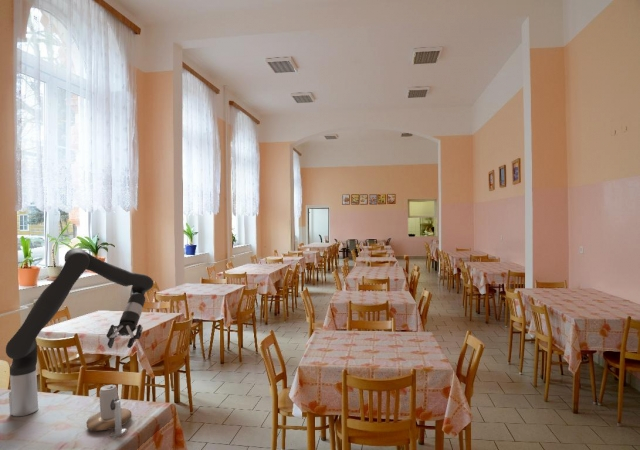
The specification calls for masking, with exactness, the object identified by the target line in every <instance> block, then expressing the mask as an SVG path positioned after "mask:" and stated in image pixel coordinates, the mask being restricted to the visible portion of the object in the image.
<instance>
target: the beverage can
mask: <svg viewBox="0 0 640 450" xmlns="http://www.w3.org/2000/svg"><path fill="white" fill-rule="evenodd" d="M98 394H99V395H98V397H99V408H100V410H99V411H100V412H99V413H100V414H101V418H102V419H104V420H110V419H113V418H115V414H114V410H111V407H110V405H111V401H112V400H113V399H119V397H118V396H119V395H118V388H117V385H115V384H106V385H103V386H102V387H100V390H99V393H98Z"/></svg>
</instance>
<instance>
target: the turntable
mask: <svg viewBox="0 0 640 450" xmlns="http://www.w3.org/2000/svg"><path fill="white" fill-rule="evenodd" d="M132 416H133V415H132V411H131V409H128V408H121V424H122V425H124V424H126V423H128V422H129V421H130V420H131V418H132ZM85 425H86V428H87V429H88V430H90V431H97V432H99V431H106V430H111V429H115V418H113V419H110V420H104V419H102V418H101V414H100V412H98V413H95V414H93V415H91V416H90V417H89V418H88V419H87V420H86V424H85Z"/></svg>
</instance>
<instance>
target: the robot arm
mask: <svg viewBox="0 0 640 450" xmlns="http://www.w3.org/2000/svg"><path fill="white" fill-rule="evenodd" d="M86 270H87V271H89V272H93V273H94V274H97V275H99V276H101V278H104V279H106V280H108V281H110V282H112V283H115V284H117V285H120V286H122V287H130V286H131V289H130V295H129V296H130V297H129V299H128V302H127V304H126V305H125V307H124V310H123V313H122V315H121V317H120V320H119V323H118V325H114V324H111V325H110V327H109V330H108V331H107V334H106V337H107V339H108V342H107V347H108V349H112V348H113V345H114V343H115V340H117V338H120V337H122V336H124V337H125V336H127V337H128V336H130V338H129V340H128V342H127V348H128V349H131V348H132V347H133V346H134V342H135V341H136V340H140V339H141V337H142V336H141V335H142V332H143V328H144V327H143V326H142V325H141V324H139V320H140V317H141V316H142V313H143V308H144V305H145V304H146V296H145V294H146V293H147V292H149V291H150V290H151V289H153V286H154V280H153V278H152V277H150V276H148V275H146V274H143V273H136V272H131V271H129V270H126V269H124V268H121V267H118V266H116V265H113V264H110V263H108V262H106V261H103V260H101V259H100V258H97V257H95V256H94V255H92V254H90V253H89V252H87V251H86V250H84V249H82V248H78V247H75V248H70V249H69V250H67V252H66V253H65V256H64V264H63V267H62V268H61V270H60V272H59V274H58V275H57V276H56V278H55V279H54V280H53V281H52V282H51V283H50V284H48V286H47V287H46V288H44V290H43V291H42V292H41V294H39V297H38V298H37V300H36V301H35V303H34V305H32V308H31V310H30V311H29V313H28V315H27V316H26V318H25V320H24V321H23V323H22V325H21V326H20V328H18V329H17V331H16V333H15V334H14V335H13V336H12V338H11V339H10V340H9V341H8V342H7V344H6V346H5V353H6V356H7V357H8V358H9V359H11V360H12V362H11V365H10V368H9V379H10V391H9V392H8V403H9V416H12V417H22V416H23V417H25V416H27V415H31V414H33V413H36V412H37V411H39V399H38V398H39V397H38V396H39V395H38V380H37V378H38V377H37V376H38V375H37V363H38V341H37V338H38V336H39V334H40V332H41V331H42V330H43V329H44V328H45V327H46V326H47V325H48V324H49V322H50V321H51V320H52V319H53V318H54V317H55V315H57V312H58V311H60V308H61V307H62V306H63V303H64V302H65V300H66V299H67V298H68V296H69V294H70V293H71V291H72V288H73V286H74V285H75V284H76V282H77V281H78V280H79V278H81V276H82V275H83V274H84V272H85V271H86ZM135 331H136V332H135ZM134 332H135V334H134Z"/></svg>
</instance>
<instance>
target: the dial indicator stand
mask: <svg viewBox="0 0 640 450" xmlns="http://www.w3.org/2000/svg"><path fill="white" fill-rule="evenodd" d="M121 406H122V405H121V400H120V398H118V399H113V400H112V401H111V405H110V407H111V410H114V414H115V428H114V431H113V432H111V433H110V437H111V438H122V437H123V436H124V435H125V434H126V433H127V431H128V430H127V428H123V427H122V424H121Z"/></svg>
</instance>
